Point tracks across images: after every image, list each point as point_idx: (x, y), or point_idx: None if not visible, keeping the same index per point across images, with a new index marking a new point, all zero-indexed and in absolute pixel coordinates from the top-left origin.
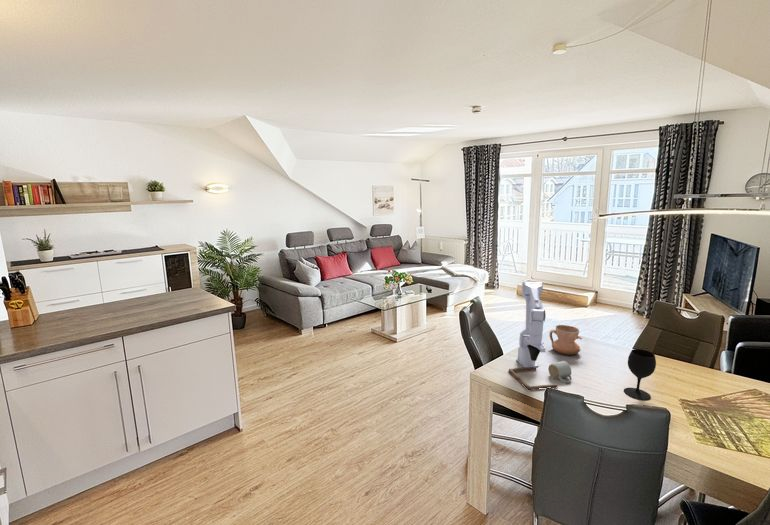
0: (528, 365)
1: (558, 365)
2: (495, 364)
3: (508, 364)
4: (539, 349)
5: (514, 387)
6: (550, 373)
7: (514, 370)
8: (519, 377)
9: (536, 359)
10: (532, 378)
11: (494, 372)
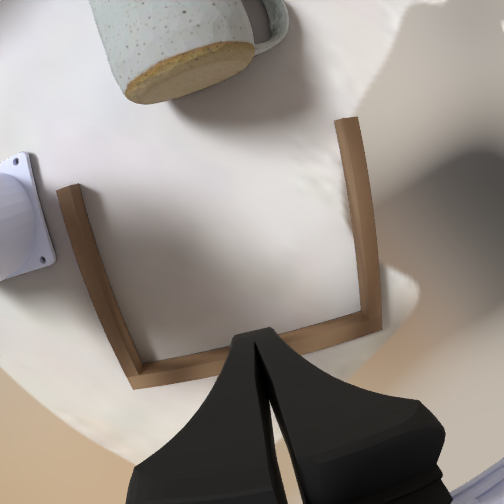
0: (34, 232)
1: (204, 13)
2: (67, 411)
3: (41, 348)
4: (502, 474)
5: None
6: (173, 96)
7: (132, 354)
8: None
9: (277, 334)
10: (214, 251)
11: (165, 439)
